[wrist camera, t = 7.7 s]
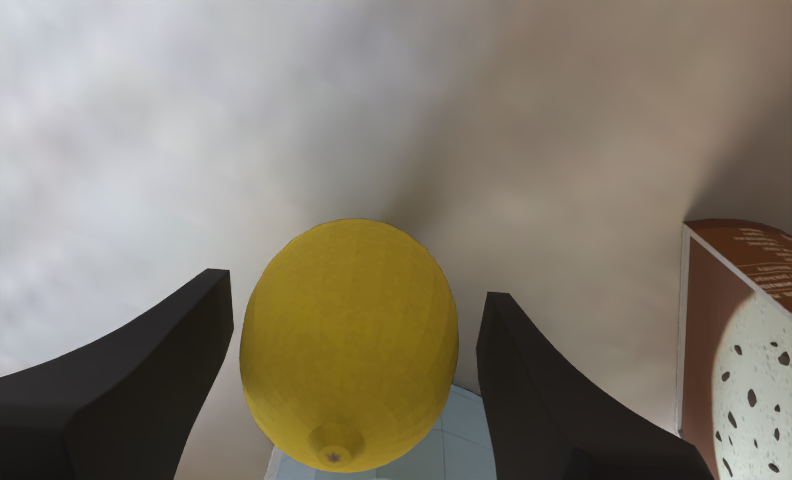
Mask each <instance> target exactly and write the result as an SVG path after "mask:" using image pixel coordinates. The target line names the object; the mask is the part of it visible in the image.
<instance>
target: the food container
mask: <svg viewBox="0 0 792 480" xmlns="http://www.w3.org/2000/svg"><path fill="white" fill-rule="evenodd" d="M675 431H676V433H677V435H678V437H679V438H681V439H683V440H685V441H687V442H689V443H691V444H693V445H695V446H696V448H697V449H698V451H699V452H700V454H701V456H702V457H703V459H704V460H705V462H706V464H707V466H708V468H709V469H710V471H711V473H712V475H713V477H714V479H715V480H792V236H790V235H788V234H787V233H785V232H783V231H781V230H779V229H776V228H773V227H769V226H766V225H763V224H760V223H755V222H749V221H743V220H736V219H706V220H698V221H689V222H683V229H682V255H681V281H680V307H679V332H678V358H677V384H676V410H675Z"/></svg>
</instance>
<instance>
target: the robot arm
mask: <svg viewBox="0 0 792 480" xmlns="http://www.w3.org/2000/svg"><path fill="white" fill-rule="evenodd" d="M233 330H234V322H233V309H232V296H231V283H230V270H222V269H210V268H207V269H206V270H204V271H203V272H201V273H200V274H199V275H197V276H196V277H195V278H193V279H192V280H190V281H189V282H188V283H186V284H185V285H184V286H182V287H181V288H180V289H178V290H177V291H175V292H174V293H173V294H171V295H170V296H168V297H167V298H166V299H164V300H163V301H161V302H160V303H159V304H157V305H156V306H154V307H152V308H151V309H149V310H148V311H146V312H145V313H143V314H142V315H140V316H138V317H137V318H135V319H134V320H132V321H131V322H129V323H127V324H126V325H124V326H122V327H120V328H119V329H117V330H115V331H113V332H111V333H109V334H108V335H106V336H104V337H102V338H100V339H98V340H96V341H94V342H92V343H90V344H88V345H85V346H83V347H81V348H78V349H76V350H74V351H72V352H69V353H67V354H65V355H62V356H60V357H58V358H55V359H53V360H50V361H48V362H45V363H42V364H40V365H37V366H34V367H31V368H28V369H25V370H22V371H19V372H16V373H13V374H10V375H7V376H4V377H0V480H173V479H174V476H175V473H176V470H177V467H178V464H179V461H180V458H181V455H182V453H183V450H184V447H185V444H186V441H187V439H188V436H189V434H190V432H191V429H192V427H193V425H194V422H195V420H196V418H197V416H198V414H199V412H200V410H201V408H202V406H203V404H204V402H205V400H206V397H207V395H208V393H209V391H210V389H211V387H212V385H213V383H214V381H215V379H216V377H217V374H218V372H219V370H220V368H221V366H222V364H223V361H224V359H225V356H226V353H227V350H228V347H229V344H230V340H231V337H232V334H233ZM476 355H477V369H478V380H479V386H480V391H481V395H482V400H483V405H484V410H485V415H486V419H487V424H488V429H489V434H490V438H491V443H492V448H493V454H494V460H495V467H496V477H497V480H715V479H714V477H713V475H712V473H711V471H710V469H709V468H708V466H707V464H706V462H705V460H704V459H703V457H702V456H701V454H700V452H699V451H698V449H697V448H696V446H695V445H693V444H691V443H689V442H687V441H685V440H683V439H681V438H679V437H677V436H675V435H673V434H671V433H669V432H668V431H666V430H664V429H662V428H660V427H658V426H656V425H654V424H653V423H651V422H649V421H648V420H646V419H644V418H643V417H641V416H639V415H638V414H636V413H635V412H633V411H631V410H630V409H628V408H627V407H625V406H624V405H622V404H621V403H619V402H618V401H617V400H615V399H614V398H612V397H611V396H610V395H608V394H607V393H605V392H604V391H603V390H601V389H600V388H599V387H598V386H596V385H595V384H594V383H592V382H591V381H590V380H589V379H588V378H587V377H585V376H584V375H583V374H582V373H581V372H580V371H578V370H577V369H576V368H575V367H574V366H573V365H572V364H571V363H570V362H569V361H568V360H567V359H566V358H565V357H564V356H563V355H562V354H561V353H560V352H559V351H558V350H557V349H556V348H555V347H554V346H553V345H552V344H551V343H550V342H549V341H548V340H547V339H546V338H545V336H544V335H543V334H542V333H541V332H540V331H539V330H538V328H537V327H536V326H535V325H534V324H533V322H532V321H531V320H530V319H529V317H528V316H527V315H526V314H525V313H524V311H523V310H522V309H521V307H520V306H519V305H518V304H517V302H516V301H515V300H514V299H513V297H512V296H511V295H510V294H509V293H498V292H487V297H486V302H485V307H484V312H483V317H482V322H481V327H480V332H479V337H478V341H477V346H476Z"/></svg>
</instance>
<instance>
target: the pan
mask: <svg viewBox="0 0 792 480" xmlns="http://www.w3.org/2000/svg"><path fill="white" fill-rule="evenodd" d="M264 480H497V477H496V467H495V460H494V454H493V448H492V443H491V438H490V434H489V429H488V424H487V419H486V415H485V410H484V405H483V400H482V398H481V397H479V396H478V395H476V394H474V393H472V392H470V391H468V390H466V389H463V388H461V387H458V386H455V385H451V389H450V393H449V396H448V399H447V402H446V405H445V407H444V409H443V410H442V412H441V414H440V416H439V417H438V419H437V421H436V422H435V424H434V425H433V427H432V428H431V430H430V431H429V432H428V434H427V435H426V436H425V437H424V438H423V439H422V440H421V441H420V442H419V443H418V444H417V445H415V446H414V447H413V448H412V449H411V450H410V451H408V452H407V453H405V454H404V455H403V456H401V457H399V458H397V459H395V460H393V461H391V462H390V463H388V464H386V465H383V466H380V467H377V468H373V469H370V470H366V471H362V472H351V473H340V472H328V471H324V470H320V469H316V468H311V467H309V466H307V465H305V464H303V463H300V462H298V461H296V460H294V459H293V458H292V457H290V456H289V455H287V454H286V453H284V452H283V451H282V450H280V449H279V448H277V447H276V446H274V447H273V449H272V452H271V455H270V459H269V463H268V467H267V470H266V474H265V478H264Z"/></svg>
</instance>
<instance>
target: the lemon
mask: <svg viewBox="0 0 792 480" xmlns="http://www.w3.org/2000/svg"><path fill="white" fill-rule="evenodd" d="M458 350H459V336H458V320H457V310H456V305H455V302H454V298H453V296H452V293H451V290H450V288H449V285H448V283H447V280H446V278H445V275H444V273H443V271H442V269H441V268H440V267H439V265H438V264H437V263H436V261H435V260H434V259H433V257H432V256H431V255H430V253H429V252H428V251H427V250H426V248H425V247H423V246H422V245H421V244H420V243H418V242H417V241H416V240H415V239H413V238H412V237H411V236H409V235H408V234H407V233H406V232H404V231H402V230H399V229H397V228H395V227H393V226H390V225H388V224H386V223H382V222H377V221H372V220H367V219H340V220H336V221H332V222H328V223H324V224H321V225H318V226H316V227H314V228H312V229H310V230H308V231H306V232H305V233H303V234H301V235H299V236H297V237H296V238H294V239H293V240H292V241H291V242H290V243H289V244H288V245H287V246H286V247H285V248H283V249H282V250H281V251H280V252H279V253H278V254H277V255H276V256H275V257H274V258H273V260H272V261H271V262H270V263H269V264H268V266H267V268H266V269H265V271H264V272H263V274H262V276H261V278H260V280H259V282H258V283H257V285H256V287H255V289H254V291H253V293H252V295H251V297H250V300H249V302H248V305H247V309H246V313H245V318H244V324H243V330H242V336H241V343H240V357H239V360H240V373H241V379H242V385H243V391H244V396H245V400H246V402H247V405H248V407H249V409H250V411H251V413H252V415H253V417H254V419H255V421H256V423H257V425H258V427H259V428H260V429H261V430H262V432H263V433H264V434H265V435H266V436H267V437H268V438H269V439H270V441H271V442H272V443H273V444H274V445H275V446H276V447H277V448H279V449H280V450H282V451H283V452H284V453H286V454H287V455H289V456H290V457H292V458H293V459H294V460H296V461H298V462H300V463H303V464H305V465H307V466H309V467H311V468H316V469H320V470H324V471H328V472H340V473H351V472H362V471H366V470H370V469H373V468H377V467H380V466H383V465H386V464H388V463H390V462H391V461H393V460H395V459H397V458H399V457H401V456H403V455H404V454H405V453H407V452H408V451H410V450H411V449H412V448H413V447H414V446H415V445H417V444H418V443H419V442H420V441H421V440H422V439H423V438H424V437H425V436H426V435H427V434H428V432H429V431H430V430H431V428H432V427H433V425H434V424H435V422H436V421H437V419H438V417H439V416H440V414H441V412H442V410H443V409H444V407H445V405H446V402H447V399H448V396H449V393H450V389H451V385H452V381H453V377H454V373H455V369H456V365H457V359H458Z"/></svg>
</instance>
